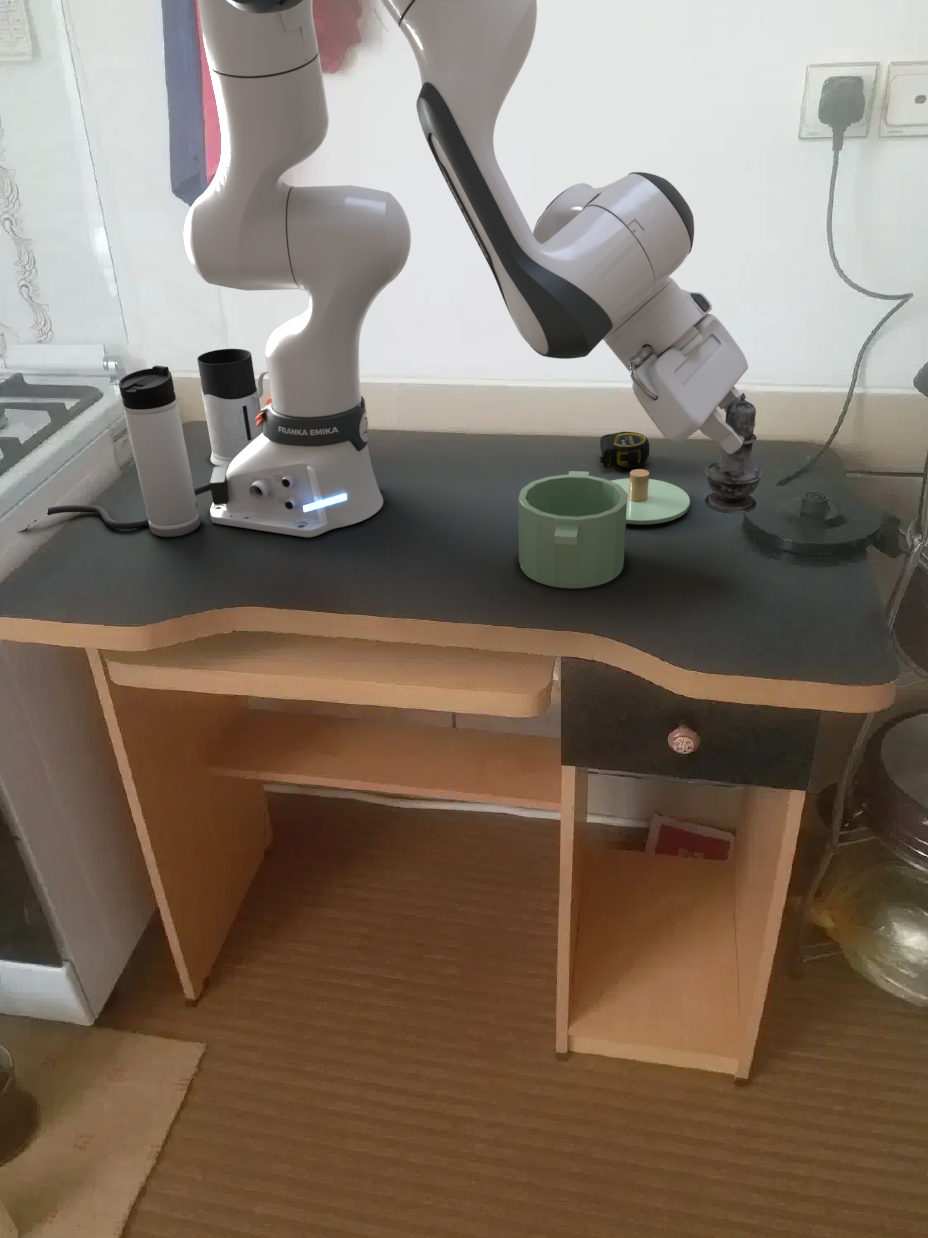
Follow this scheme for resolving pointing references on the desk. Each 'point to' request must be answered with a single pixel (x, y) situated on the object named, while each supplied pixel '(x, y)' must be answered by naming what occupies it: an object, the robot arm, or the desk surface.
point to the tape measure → (624, 449)
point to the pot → (572, 530)
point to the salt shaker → (735, 465)
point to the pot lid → (652, 499)
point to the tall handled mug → (230, 401)
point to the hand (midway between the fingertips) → (744, 439)
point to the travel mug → (160, 451)
